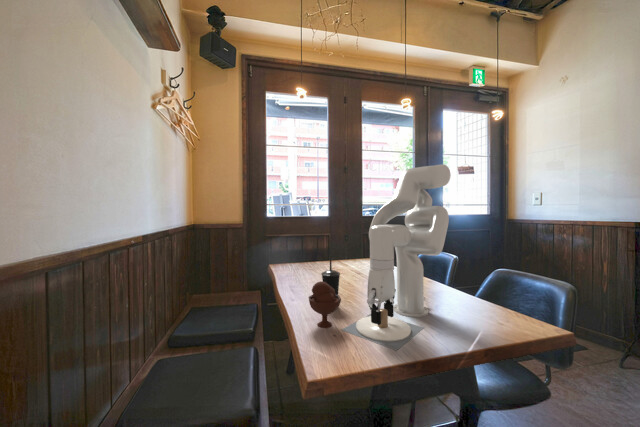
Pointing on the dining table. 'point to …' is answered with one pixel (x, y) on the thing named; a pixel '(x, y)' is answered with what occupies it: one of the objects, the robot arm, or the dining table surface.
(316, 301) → the ice cream bowl
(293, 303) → the dining table surface
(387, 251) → the robot arm
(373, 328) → the lid
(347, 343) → the dining table surface
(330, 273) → the drinking cup
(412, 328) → the mat
